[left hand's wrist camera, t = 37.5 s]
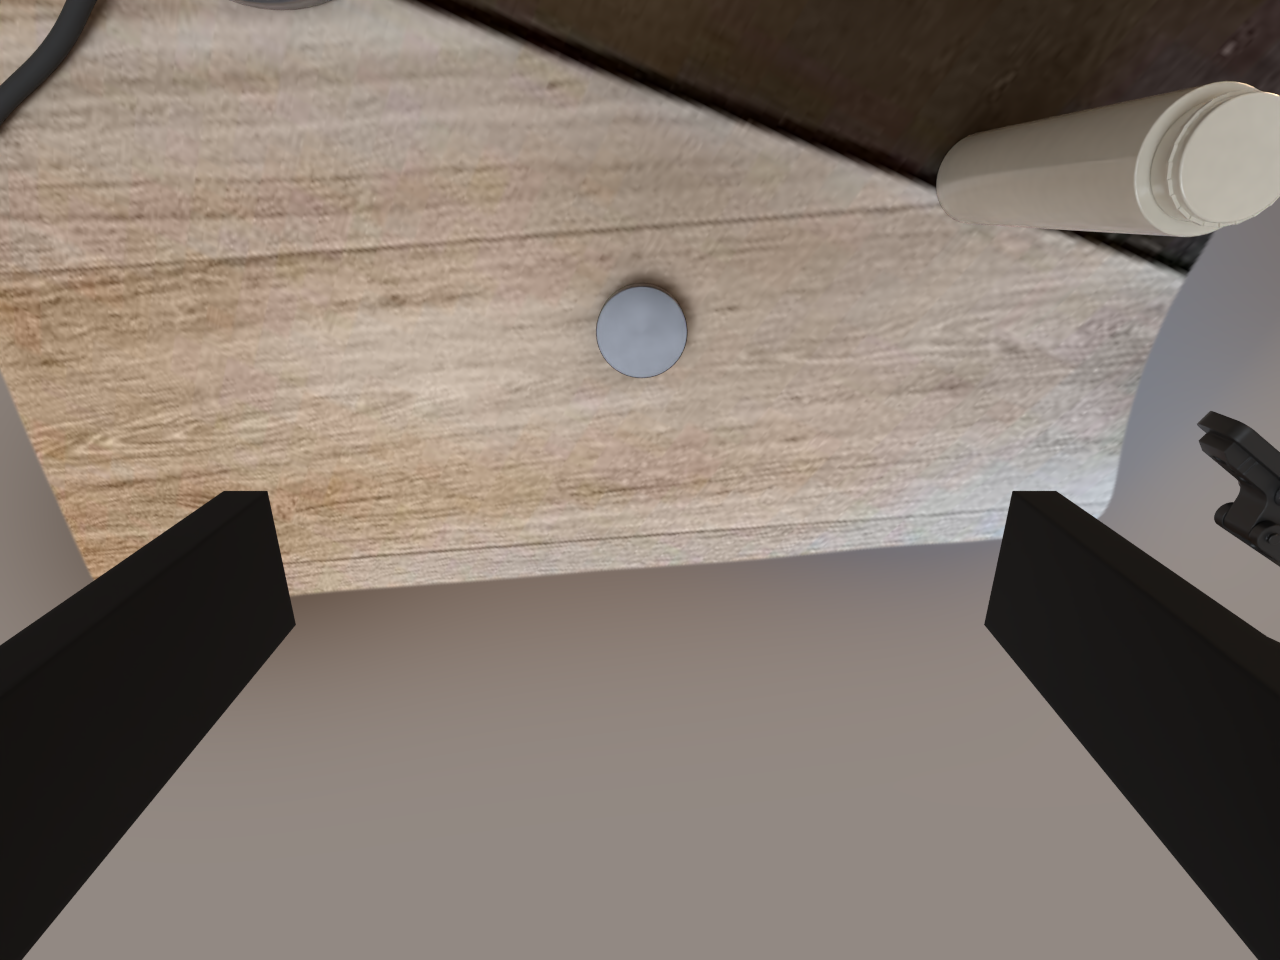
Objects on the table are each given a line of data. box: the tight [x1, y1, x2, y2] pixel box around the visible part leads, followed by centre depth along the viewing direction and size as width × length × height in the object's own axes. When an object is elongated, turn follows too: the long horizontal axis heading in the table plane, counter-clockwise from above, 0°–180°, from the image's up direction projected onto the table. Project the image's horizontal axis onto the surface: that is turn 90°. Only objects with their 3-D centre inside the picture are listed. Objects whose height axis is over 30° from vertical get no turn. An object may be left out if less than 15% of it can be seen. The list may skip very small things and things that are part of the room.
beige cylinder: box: [936, 81, 1280, 237], centre depth 28 cm, size 4×4×17 cm
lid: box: [596, 283, 687, 378], centre depth 38 cm, size 5×5×2 cm
